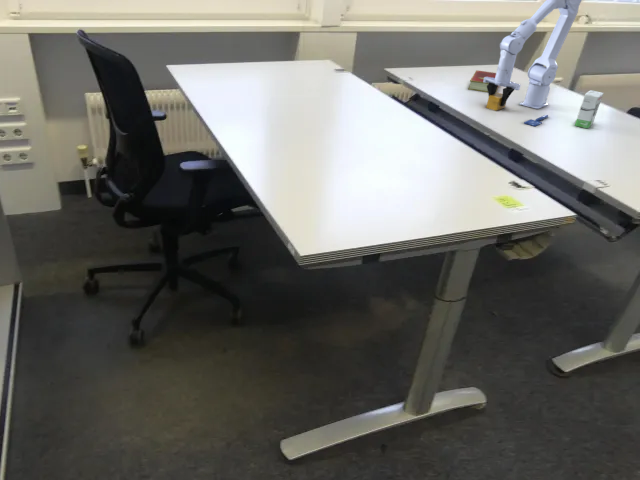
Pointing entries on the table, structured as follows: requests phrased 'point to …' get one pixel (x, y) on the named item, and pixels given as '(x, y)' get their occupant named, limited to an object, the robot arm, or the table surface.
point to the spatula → (535, 121)
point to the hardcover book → (480, 81)
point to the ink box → (589, 109)
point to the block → (495, 102)
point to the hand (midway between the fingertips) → (496, 104)
